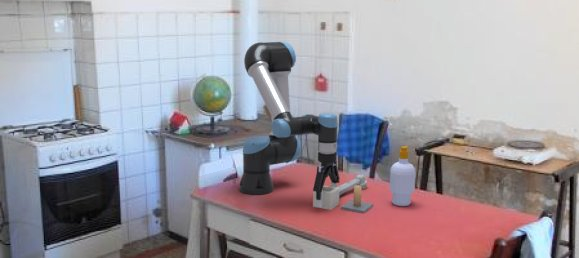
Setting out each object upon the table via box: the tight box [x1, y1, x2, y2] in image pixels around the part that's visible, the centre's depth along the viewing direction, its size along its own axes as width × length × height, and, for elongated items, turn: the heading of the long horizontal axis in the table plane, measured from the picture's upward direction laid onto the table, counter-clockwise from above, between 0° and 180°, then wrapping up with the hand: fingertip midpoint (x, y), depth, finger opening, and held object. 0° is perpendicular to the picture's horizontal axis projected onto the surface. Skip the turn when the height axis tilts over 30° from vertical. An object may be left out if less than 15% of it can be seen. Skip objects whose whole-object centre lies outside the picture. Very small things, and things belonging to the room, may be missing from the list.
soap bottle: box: [389, 145, 416, 207], centre depth 245 cm, size 10×10×24 cm
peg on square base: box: [340, 185, 374, 214], centre depth 241 cm, size 10×10×9 cm
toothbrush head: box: [337, 174, 368, 197], centre depth 261 cm, size 5×7×25 cm
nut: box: [312, 185, 340, 211], centre depth 243 cm, size 8×8×7 cm
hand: (326, 202), depth 243 cm, fingers open, 13 cm apart
